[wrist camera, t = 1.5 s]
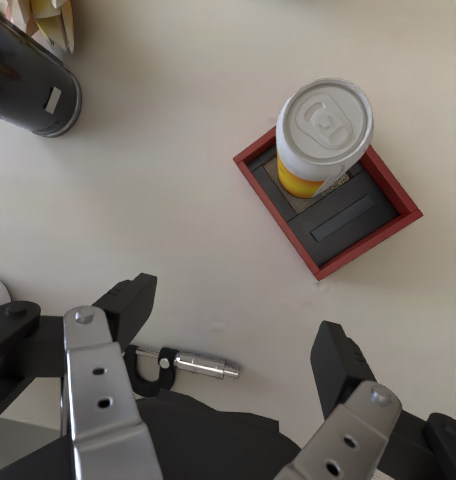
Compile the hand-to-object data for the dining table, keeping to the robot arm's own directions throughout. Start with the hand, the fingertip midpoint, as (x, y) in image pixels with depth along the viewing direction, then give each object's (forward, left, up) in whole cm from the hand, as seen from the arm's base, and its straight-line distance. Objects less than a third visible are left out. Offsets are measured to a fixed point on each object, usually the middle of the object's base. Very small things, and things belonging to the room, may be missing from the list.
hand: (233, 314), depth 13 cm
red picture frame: (-7, +8, -20) cm, 23 cm away
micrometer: (+11, -14, -20) cm, 27 cm away
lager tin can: (-9, +7, -20) cm, 24 cm away
